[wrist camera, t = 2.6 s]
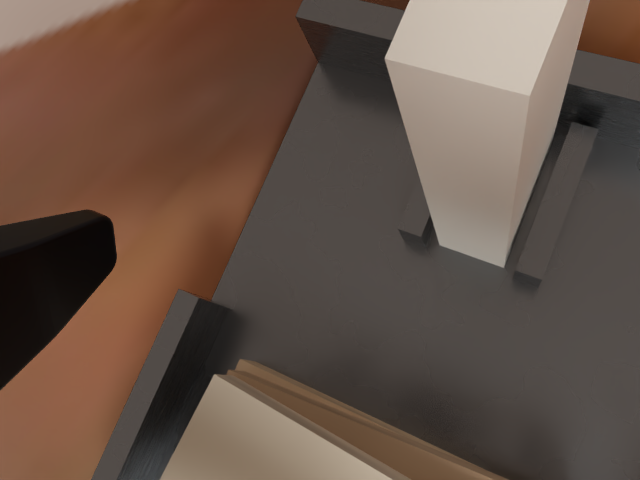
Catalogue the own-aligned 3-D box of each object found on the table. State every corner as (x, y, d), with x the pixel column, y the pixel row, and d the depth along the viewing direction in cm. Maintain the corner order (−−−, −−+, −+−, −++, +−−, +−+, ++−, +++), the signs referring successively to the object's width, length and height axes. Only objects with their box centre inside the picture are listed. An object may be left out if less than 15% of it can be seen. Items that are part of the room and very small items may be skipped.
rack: (573, 824, 17) (599, 949, 13) (118, 535, 22) (42, 564, 18) (787, 169, 19) (860, 114, 15) (335, 51, 24) (308, -12, 21)
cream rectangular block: (503, 268, 20) (530, 96, 8) (439, 245, 20) (384, 58, 9) (551, 144, 20) (634, -171, 9) (487, 126, 21) (490, -187, 10)
